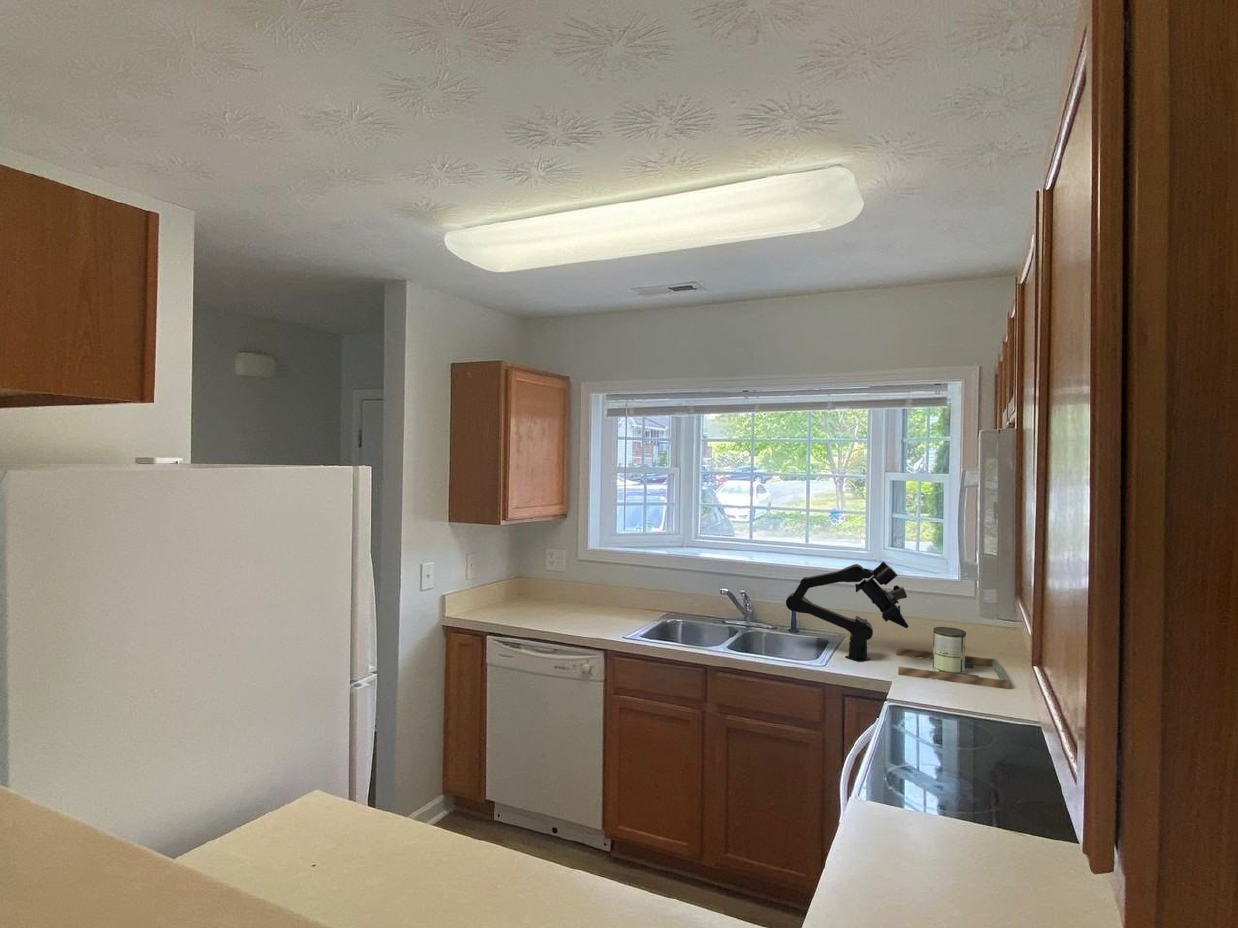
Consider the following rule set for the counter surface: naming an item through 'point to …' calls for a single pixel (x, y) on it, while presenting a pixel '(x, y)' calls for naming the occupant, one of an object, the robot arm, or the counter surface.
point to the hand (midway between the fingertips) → (907, 627)
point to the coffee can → (949, 649)
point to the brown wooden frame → (955, 676)
